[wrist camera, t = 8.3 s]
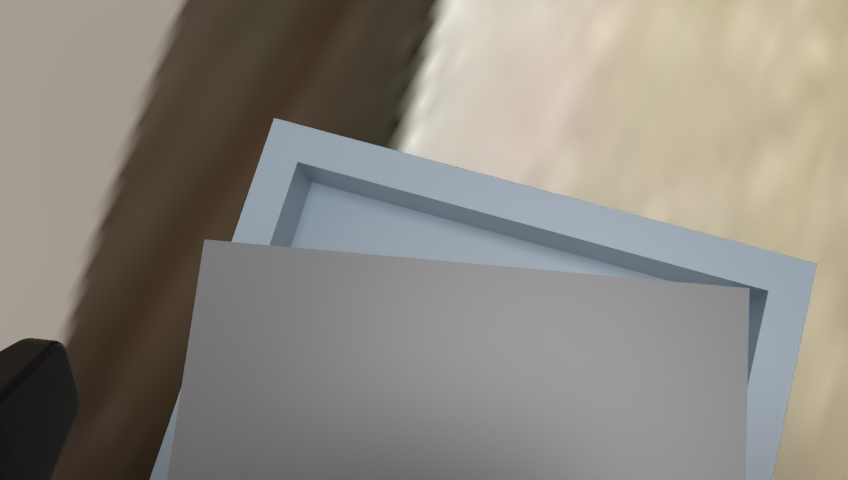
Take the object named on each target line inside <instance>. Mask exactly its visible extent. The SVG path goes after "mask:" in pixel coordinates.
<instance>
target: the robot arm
mask: <svg viewBox="0 0 848 480" xmlns="http://www.w3.org/2000/svg"><path fill="white" fill-rule="evenodd" d="M78 408H79V391H78V388H77V384H76V381H75V377H74V374H73V370H72V367H71V363H70V360H69V356H68V353H67V350H66V348H65V347H64V345H63V344H62V343H60V342H58V341H53V340H42V339H33V338H28V339H23V340H20V341H18V342H16V343H14V344H13V345H11V346H9V347H7V348H5V349H4V350H2V351H0V480H51V478H52V475H53V473H54V470H55V468H56V465H57V463H58V460H59V458H60V455H61V453H62V450H63V448H64V445H65V443H66V440H67V438H68V435H69V433H70V430H71V428H72V425H73V423H74V420H75V418H76V415H77V412H78Z"/></svg>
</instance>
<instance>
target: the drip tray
mask: <svg viewBox="0 0 848 480" xmlns="http://www.w3.org/2000/svg"><path fill="white" fill-rule="evenodd" d="M232 242H238V243H249V244H260V245H272V246H283V247H294V248H305V249H316V250H327V251H339V252H350V253H361V254H372V255H383V256H394V257H406V258H417V259H428V260H439V261H450V262H461V263H473V264H484V265H495V266H506V267H517V268H528V269H540V270H551V271H562V272H573V273H584V274H595V275H607V276H618V277H629V278H640V279H651V280H663V281H674V282H685V283H696V284H707V285H718V286H730V287H741V288H750V292H749V338H748V383H747V429H746V475H745V480H772V477H773V472H774V468H775V463H776V458H777V453H778V448H779V444H780V439H781V434H782V429H783V424H784V420H785V415H786V410H787V405H788V400H789V396H790V391H791V386H792V381H793V376H794V372H795V367H796V362H797V357H798V352H799V348H800V343H801V338H802V333H803V328H804V324H805V319H806V314H807V309H808V304H809V300H810V295H811V290H812V285H813V280H814V276H815V271H816V266H817V263H813V262H809V261H805V260H802V259H798V258H794V257H790V256H787V255H783V254H779V253H776V252H772V251H768V250H764V249H761V248H757V247H753V246H749V245H746V244H742V243H738V242H735V241H731V240H727V239H723V238H720V237H716V236H712V235H708V234H705V233H701V232H697V231H693V230H690V229H686V228H682V227H679V226H675V225H671V224H667V223H664V222H660V221H656V220H652V219H649V218H645V217H641V216H638V215H634V214H630V213H626V212H623V211H619V210H615V209H611V208H608V207H604V206H600V205H597V204H593V203H589V202H585V201H582V200H578V199H574V198H570V197H567V196H563V195H559V194H556V193H552V192H548V191H544V190H541V189H537V188H533V187H529V186H526V185H522V184H518V183H514V182H511V181H507V180H503V179H500V178H496V177H492V176H488V175H485V174H481V173H477V172H473V171H470V170H466V169H462V168H459V167H455V166H451V165H447V164H444V163H440V162H436V161H432V160H429V159H425V158H421V157H418V156H414V155H410V154H406V153H403V152H399V151H395V150H391V149H388V148H384V147H380V146H376V145H373V144H369V143H365V142H362V141H358V140H354V139H350V138H347V137H343V136H339V135H335V134H332V133H328V132H324V131H321V130H317V129H313V128H309V127H306V126H302V125H298V124H294V123H291V122H287V121H283V120H280V119H276V118H274V120H273V123H272V126H271V129H270V132H269V135H268V138H267V141H266V143H265V146H264V149H263V152H262V155H261V158H260V161H259V164H258V167H257V170H256V172H255V175H254V178H253V181H252V184H251V187H250V190H249V193H248V196H247V199H246V201H245V204H244V207H243V210H242V213H241V216H240V219H239V222H238V225H237V228H236V230H235V233H234V236H233V239H232ZM180 393H181V390H180ZM180 393H179V396H178V399H177V402H176V404H175V407H174V410H173V413H172V416H171V419H170V422H169V425H168V428H167V431H166V433H165V436H164V439H163V442H162V445H161V448H160V451H159V454H158V457H157V460H156V462H155V465H154V468H153V471H152V474H151V477H150V480H167V477H168V470H169V464H170V457H171V451H172V444H173V438H174V432H175V425H176V419H177V412H178V406H179V400H180Z"/></svg>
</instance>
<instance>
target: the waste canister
mask: <svg viewBox="0 0 848 480" xmlns="http://www.w3.org/2000/svg"><path fill="white" fill-rule="evenodd" d="M749 292H750V288H741V287H730V286H718V285H707V284H696V283H685V282H674V281H663V280H651V279H640V278H629V277H618V276H607V275H595V274H584V273H573V272H562V271H551V270H540V269H528V268H517V267H506V266H495V265H484V264H473V263H461V262H450V261H439V260H428V259H417V258H406V257H394V256H383V255H372V254H361V253H350V252H339V251H327V250H316V249H305V248H294V247H283V246H272V245H260V244H249V243H238V242H227V241H216V240H204V246H203V252H202V259H201V265H200V271H199V278H198V284H197V291H196V297H195V304H194V310H193V316H192V323H191V329H190V336H189V342H188V348H187V355H186V361H185V368H184V374H183V380H182V387H181V393H180V400H179V406H178V412H177V419H176V425H175V432H174V438H173V444H172V451H171V457H170V464H169V470H168V477H167V480H745V475H746V429H747V383H748V338H749Z"/></svg>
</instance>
